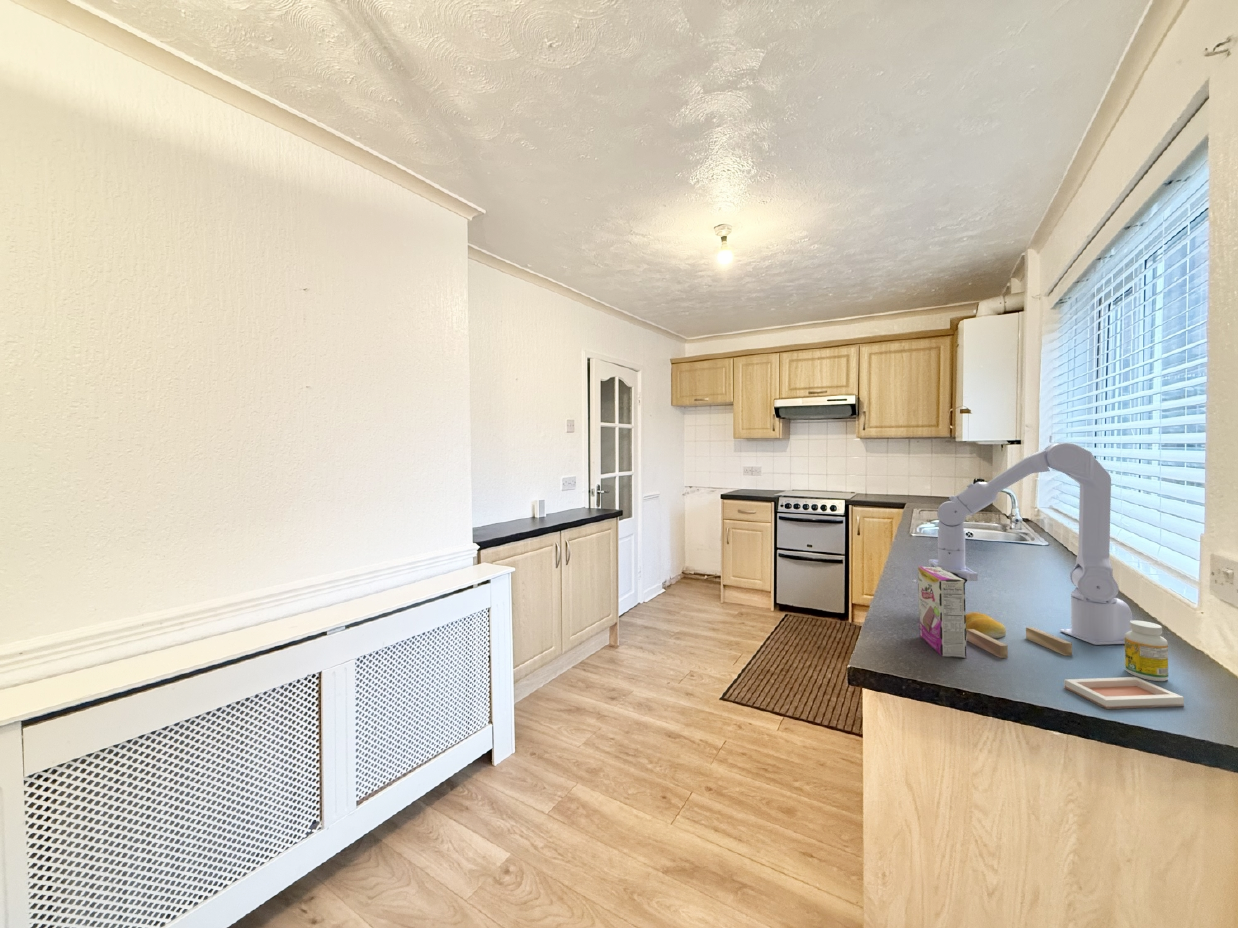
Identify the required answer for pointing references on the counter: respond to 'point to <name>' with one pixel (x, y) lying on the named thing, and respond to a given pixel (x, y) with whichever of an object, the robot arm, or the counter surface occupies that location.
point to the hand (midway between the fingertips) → (951, 601)
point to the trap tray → (1123, 693)
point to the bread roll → (985, 625)
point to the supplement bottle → (1146, 651)
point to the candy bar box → (942, 611)
